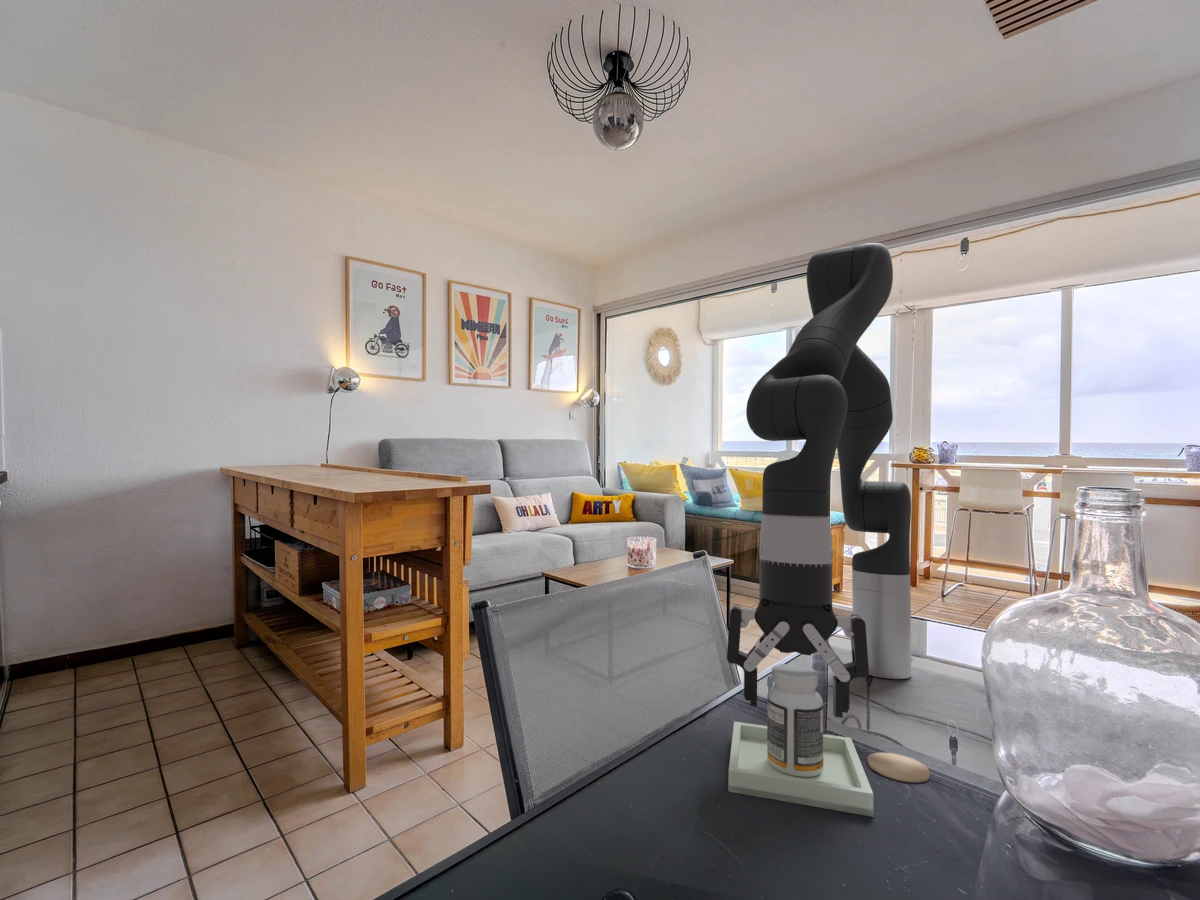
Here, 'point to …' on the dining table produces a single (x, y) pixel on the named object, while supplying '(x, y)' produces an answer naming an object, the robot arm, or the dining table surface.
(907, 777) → the coaster
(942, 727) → the dining table surface
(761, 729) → the tray
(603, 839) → the dining table surface
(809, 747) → the pill bottle
